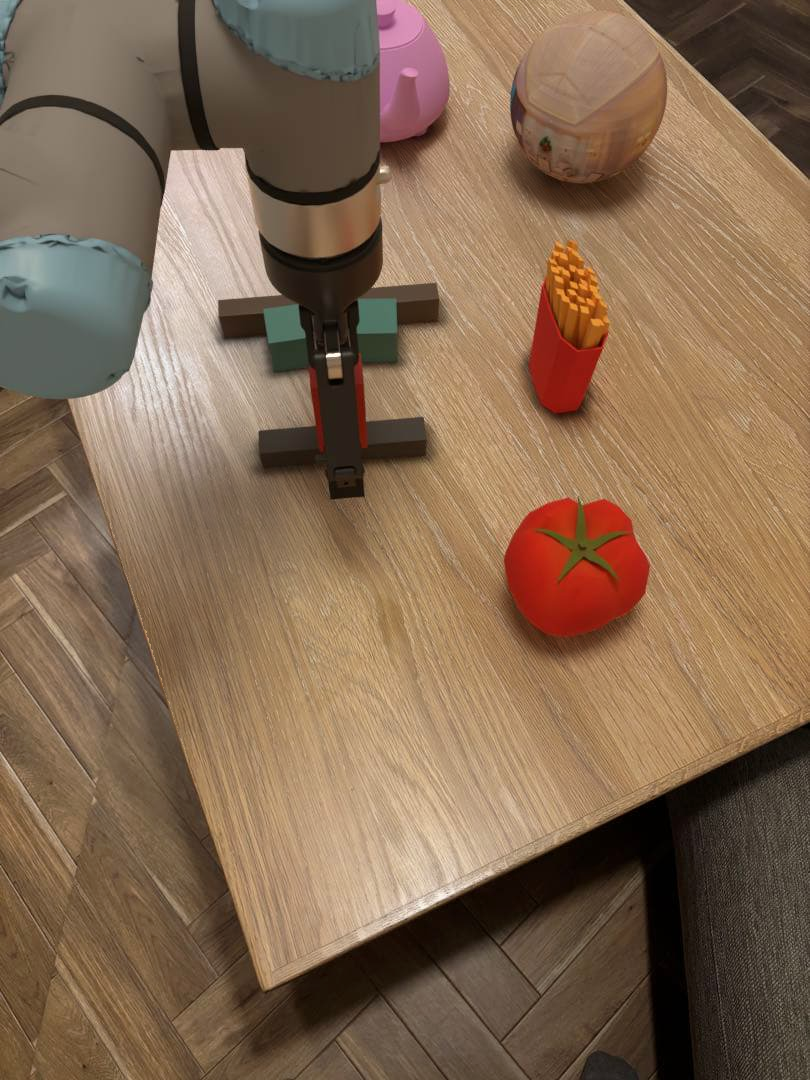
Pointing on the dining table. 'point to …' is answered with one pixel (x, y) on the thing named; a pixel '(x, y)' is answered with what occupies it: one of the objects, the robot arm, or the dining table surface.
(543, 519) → the tomato
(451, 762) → the dining table surface
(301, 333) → the cube
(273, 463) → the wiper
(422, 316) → the strip
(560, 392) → the french fries
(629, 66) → the ornament
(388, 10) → the teapot
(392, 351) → the cube
